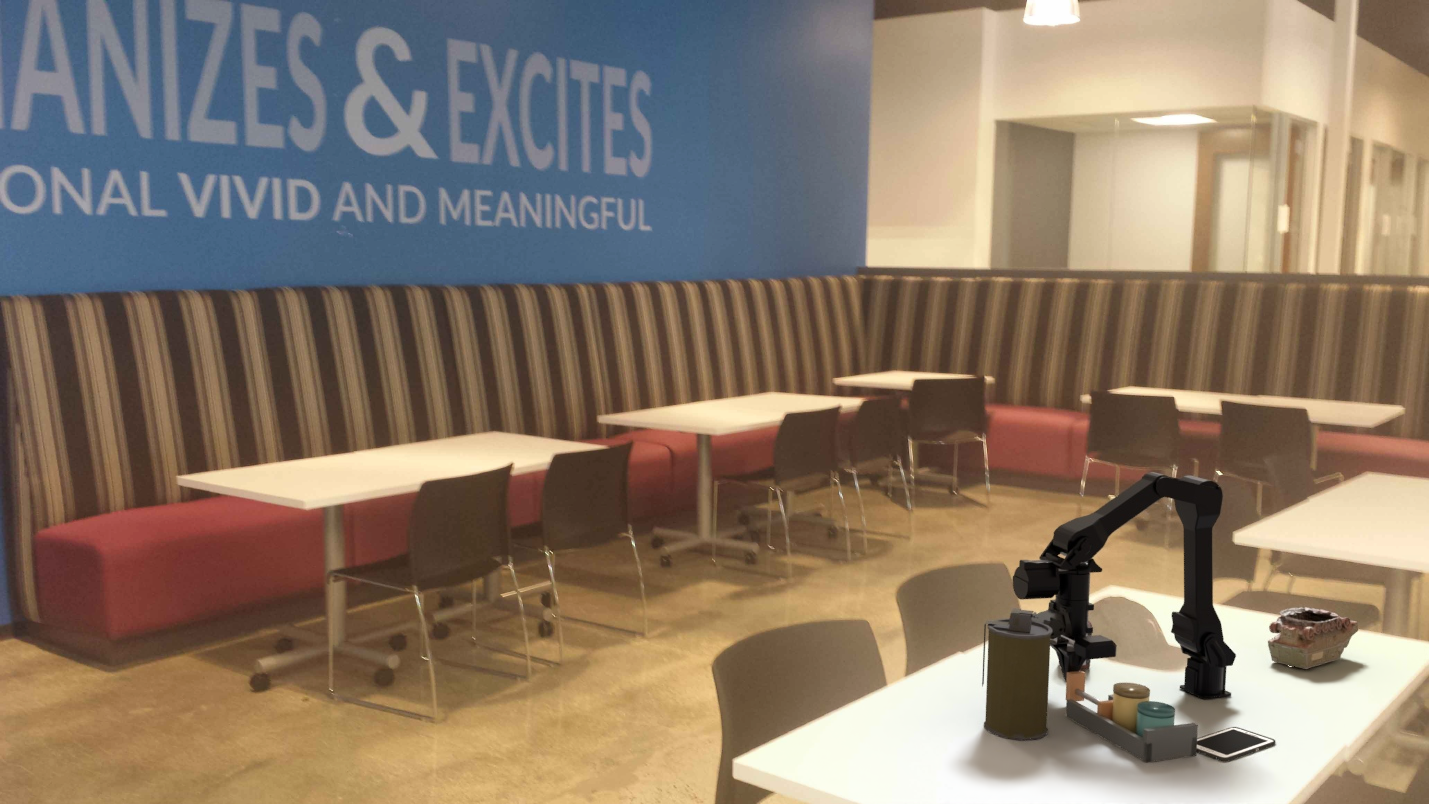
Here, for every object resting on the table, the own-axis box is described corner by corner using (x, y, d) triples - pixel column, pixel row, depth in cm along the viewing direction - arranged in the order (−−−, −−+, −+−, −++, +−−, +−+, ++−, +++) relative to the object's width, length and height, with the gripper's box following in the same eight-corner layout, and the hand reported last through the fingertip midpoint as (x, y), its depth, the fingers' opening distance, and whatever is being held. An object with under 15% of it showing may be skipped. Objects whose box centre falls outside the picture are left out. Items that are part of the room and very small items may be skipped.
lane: (1112, 711, 212) (1113, 683, 211) (1196, 755, 192) (1197, 724, 192) (1065, 716, 209) (1067, 688, 208) (1146, 762, 189) (1147, 731, 189)
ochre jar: (1132, 727, 204) (1134, 681, 203) (1155, 739, 199) (1157, 692, 198) (1103, 731, 202) (1106, 684, 201) (1125, 743, 197) (1128, 695, 196)
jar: (1156, 741, 198) (1159, 699, 197) (1180, 754, 193) (1183, 711, 192) (1127, 745, 196) (1129, 703, 196) (1150, 758, 191) (1153, 715, 190)
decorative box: (1243, 655, 246) (1246, 608, 245) (1309, 643, 255) (1312, 598, 254) (1301, 674, 234) (1304, 625, 233) (1368, 661, 243) (1371, 614, 242)
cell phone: (1180, 748, 196) (1181, 743, 196) (1234, 731, 204) (1234, 725, 204) (1224, 764, 190) (1224, 758, 190) (1277, 746, 198) (1278, 740, 198)
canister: (1050, 722, 206) (1055, 606, 204) (1045, 744, 196) (1051, 622, 194) (984, 714, 209) (989, 600, 208) (977, 735, 200) (982, 615, 198)
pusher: (1089, 701, 216) (1090, 669, 216) (1135, 725, 204) (1137, 692, 204) (1055, 704, 214) (1057, 673, 213) (1100, 729, 202) (1101, 696, 201)
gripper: (1003, 586, 221) (1000, 670, 222) (1064, 614, 203) (1060, 704, 205) (1056, 582, 224) (1052, 665, 226) (1120, 609, 207) (1116, 698, 208)
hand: (1068, 682), depth 216 cm, fingers closed
